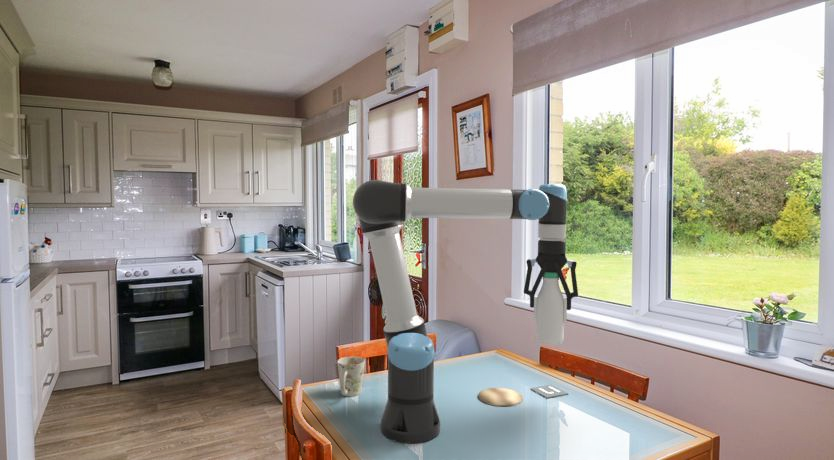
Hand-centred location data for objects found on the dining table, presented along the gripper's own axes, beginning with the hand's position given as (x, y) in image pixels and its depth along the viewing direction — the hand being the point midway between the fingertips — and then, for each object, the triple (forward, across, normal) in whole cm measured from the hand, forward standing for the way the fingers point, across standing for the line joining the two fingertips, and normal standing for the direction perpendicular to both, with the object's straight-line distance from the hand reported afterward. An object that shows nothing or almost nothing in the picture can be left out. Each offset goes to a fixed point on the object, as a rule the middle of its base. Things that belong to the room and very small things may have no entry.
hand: (550, 319), depth 140 cm
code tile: (+25, 0, -12) cm, 28 cm away
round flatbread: (+25, +14, -3) cm, 29 cm away
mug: (+25, +58, +9) cm, 64 cm away
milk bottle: (+6, 0, 0) cm, 6 cm away
